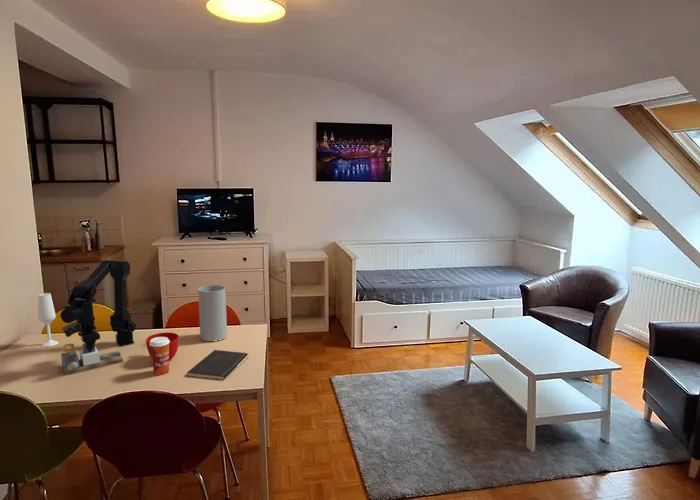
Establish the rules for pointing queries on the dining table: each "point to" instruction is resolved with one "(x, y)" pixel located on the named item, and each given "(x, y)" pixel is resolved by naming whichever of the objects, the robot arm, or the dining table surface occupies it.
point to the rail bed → (75, 365)
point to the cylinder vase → (212, 312)
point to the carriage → (89, 355)
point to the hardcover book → (217, 364)
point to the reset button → (68, 347)
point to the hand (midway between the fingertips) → (89, 350)
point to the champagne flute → (46, 314)
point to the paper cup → (160, 355)
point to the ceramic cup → (172, 345)
